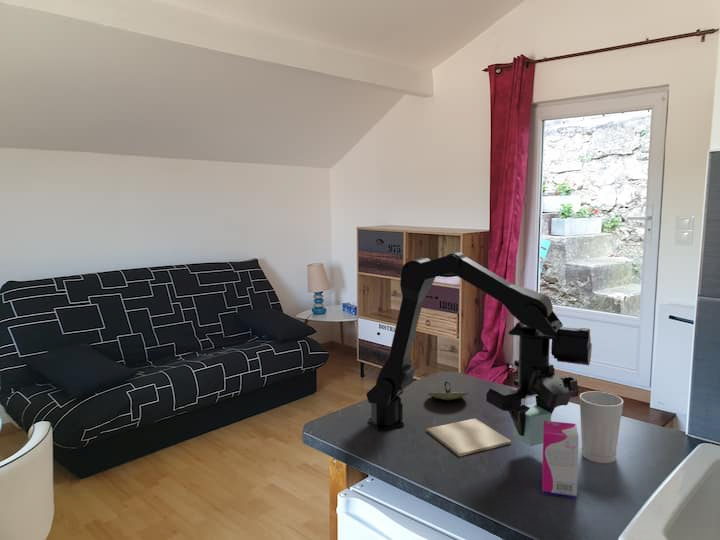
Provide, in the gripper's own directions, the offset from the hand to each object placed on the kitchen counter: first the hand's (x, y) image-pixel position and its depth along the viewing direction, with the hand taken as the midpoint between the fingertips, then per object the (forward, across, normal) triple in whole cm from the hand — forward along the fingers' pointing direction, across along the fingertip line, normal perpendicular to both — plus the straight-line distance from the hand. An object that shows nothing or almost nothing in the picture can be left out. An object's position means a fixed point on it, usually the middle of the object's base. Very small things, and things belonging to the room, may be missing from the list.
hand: (531, 432), depth 108 cm
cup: (+5, +12, -6) cm, 14 cm away
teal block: (+1, 0, 0) cm, 1 cm away
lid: (+5, 0, +32) cm, 32 cm away
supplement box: (+5, -4, -12) cm, 13 cm away
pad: (+5, -7, +12) cm, 15 cm away
